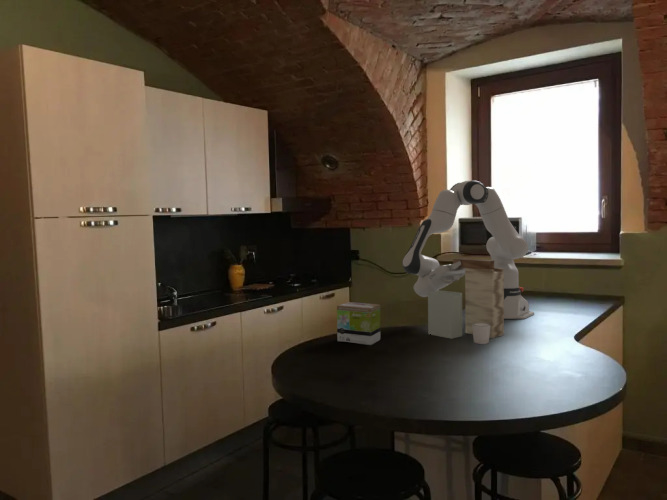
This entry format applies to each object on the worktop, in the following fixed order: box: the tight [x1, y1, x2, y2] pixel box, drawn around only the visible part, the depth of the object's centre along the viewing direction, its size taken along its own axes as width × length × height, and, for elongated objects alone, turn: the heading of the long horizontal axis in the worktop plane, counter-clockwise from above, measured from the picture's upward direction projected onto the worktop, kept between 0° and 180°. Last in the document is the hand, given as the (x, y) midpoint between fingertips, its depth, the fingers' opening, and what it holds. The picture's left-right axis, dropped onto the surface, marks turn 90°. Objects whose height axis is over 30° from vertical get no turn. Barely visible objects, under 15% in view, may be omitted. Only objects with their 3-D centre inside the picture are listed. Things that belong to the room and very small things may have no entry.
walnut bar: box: [452, 257, 494, 270], centre depth 224 cm, size 4×18×4 cm, turn 40°
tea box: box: [336, 301, 381, 346], centre depth 214 cm, size 15×10×15 cm
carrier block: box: [427, 289, 463, 340], centre depth 221 cm, size 7×12×18 cm, turn 40°
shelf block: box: [464, 268, 505, 339], centre depth 221 cm, size 8×13×27 cm, turn 40°
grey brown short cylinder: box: [472, 323, 490, 345], centre depth 208 cm, size 7×7×7 cm
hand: (464, 262), depth 227 cm, fingers closed on walnut bar, 3 cm apart
